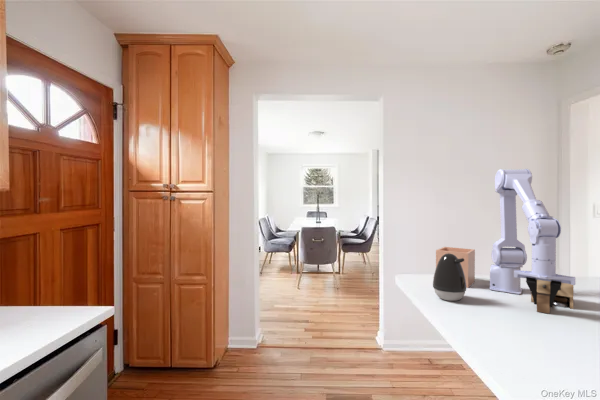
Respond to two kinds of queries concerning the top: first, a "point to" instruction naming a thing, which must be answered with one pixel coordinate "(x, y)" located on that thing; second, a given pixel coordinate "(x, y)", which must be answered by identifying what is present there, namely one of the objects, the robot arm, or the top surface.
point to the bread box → (564, 291)
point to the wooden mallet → (546, 302)
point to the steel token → (559, 303)
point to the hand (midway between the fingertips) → (543, 304)
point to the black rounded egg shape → (449, 278)
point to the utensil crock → (467, 264)
